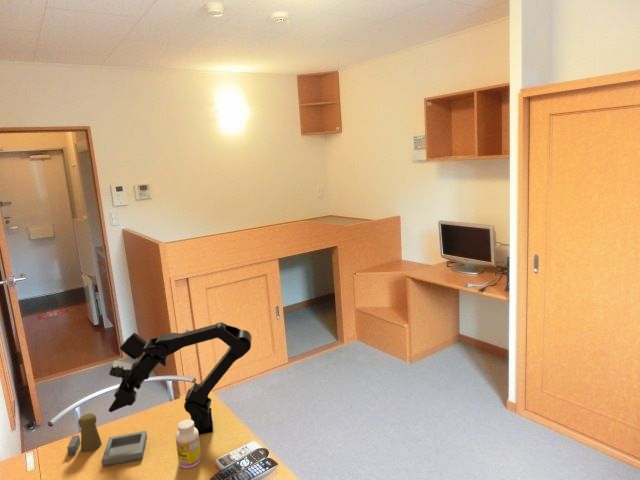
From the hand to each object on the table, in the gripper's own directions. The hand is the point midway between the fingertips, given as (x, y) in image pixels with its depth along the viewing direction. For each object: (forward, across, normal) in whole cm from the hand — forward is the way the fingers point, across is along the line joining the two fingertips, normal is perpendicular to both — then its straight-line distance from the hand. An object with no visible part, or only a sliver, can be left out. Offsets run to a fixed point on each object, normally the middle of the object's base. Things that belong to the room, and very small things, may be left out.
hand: (112, 403), depth 144 cm
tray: (+7, +7, +12) cm, 16 cm away
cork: (+16, 0, +4) cm, 16 cm away
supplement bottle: (-7, +18, +26) cm, 33 cm away
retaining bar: (+19, 0, +1) cm, 19 cm away
